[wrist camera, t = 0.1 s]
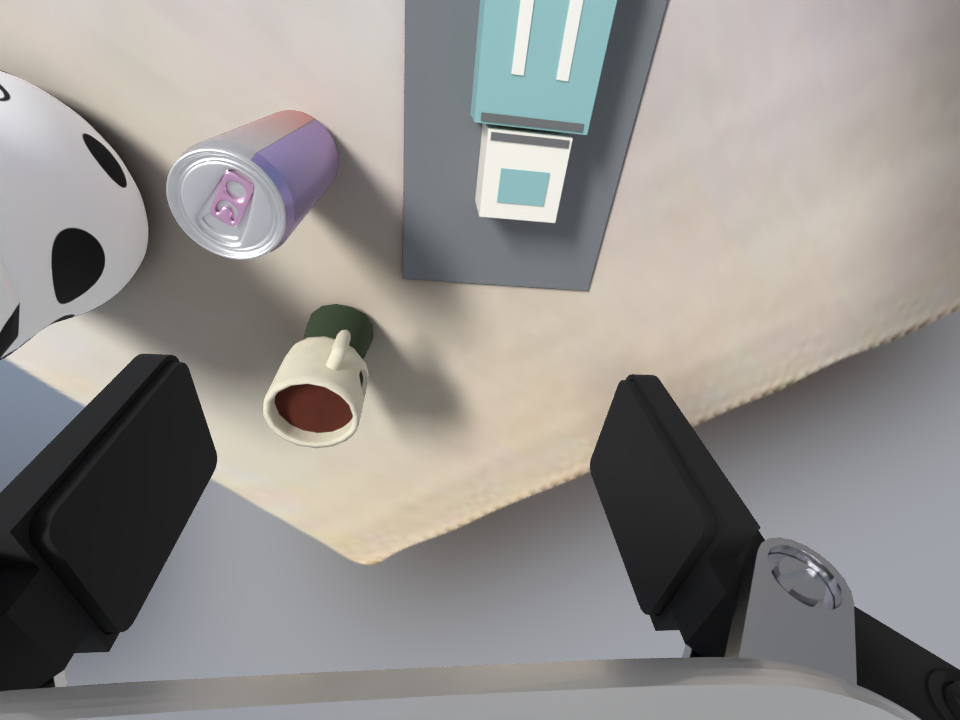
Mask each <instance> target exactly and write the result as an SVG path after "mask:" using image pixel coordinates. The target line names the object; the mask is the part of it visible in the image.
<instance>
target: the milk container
mask: <svg viewBox="0 0 960 720" xmlns="http://www.w3.org/2000/svg"><path fill="white" fill-rule="evenodd" d="M147 244H148V220H147V215H146V211H145V206H144V202H143V199H142V196H141V192H140V190H139V188H138V186H137V184H136V182H135V181H134V179H133V177H132V175H131V174H130V172H129V170H128V169H127V167H126V165H125V164H124V162H123V161H122V159H121V158H120V156H119V155H118V153H117V152H116V151H115V150H114V149H113V148H112V146H111V145H110V144H109V143H108V142H107V141H106V140H105V139H104V138H103V137H102V136H101V135H100V134H99V133H98V132H97V131H96V130H95V129H94V128H93V127H92V126H91V125H90V124H89V123H88V122H87V121H86V120H85V119H84V118H83V117H82V116H80V115H79V114H78V113H76V112H75V111H74V110H72V109H71V108H69V107H68V106H66V105H65V104H63V103H62V102H60V101H59V100H57V99H56V98H55V97H53V96H51V95H50V94H48V93H47V92H45V91H43V90H42V89H40V88H38V87H36V86H34V85H33V84H31V83H29V82H27V81H25V80H23V79H21V78H18V77H16V76H14V75H12V74H9V73H7V72H4V71H1V70H0V360H1V359H3V358H5V357H7V356H8V355H10V354H11V353H13V352H14V351H15V350H17V349H18V348H19V347H21V346H22V345H23V344H25V343H26V342H27V341H28V340H30V339H31V338H32V337H33V336H35V335H36V334H37V333H39V332H40V331H41V330H43V329H44V328H46V327H47V326H49V325H51V324H53V323H56V322H59V321H62V320H65V319H69V318H72V317H75V316H78V315H80V314H83V313H86V312H88V311H90V310H93V309H95V308H96V307H98V306H100V305H102V304H103V303H105V302H107V301H108V300H109V299H111V298H112V297H113V296H115V295H116V294H117V293H118V292H119V291H120V290H121V289H122V288H123V287H124V286H125V285H126V284H127V283H128V282H129V281H130V279H131V278H132V277H133V275H134V274H135V273H136V271H137V269H138V268H139V266H140V264H141V263H142V261H143V258H144V256H145V253H146V249H147Z"/></svg>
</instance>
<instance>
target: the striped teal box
mask: <svg viewBox="0 0 960 720" xmlns="http://www.w3.org/2000/svg"><path fill="white" fill-rule="evenodd" d="M616 3H617V0H480V7H479V19H478V31H477V42H476V54H475V66H474V78H473V90H472V102H471V113H470V115H471V117H472V118H473V120H474V122H476V123H485V124H494V125H503V126H512V127H520V128H529V129H538V130H547V131H556V132H565V133H574V134H582V135H587V133H588V128H589V124H590V119H591V115H592V110H593V106H594V102H595V97H596V93H597V88H598V84H599V79H600V75H601V70H602V66H603V61H604V57H605V52H606V48H607V43H608V39H609V34H610V30H611V25H612V21H613V16H614V12H615V7H616Z"/></svg>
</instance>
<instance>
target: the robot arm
mask: <svg viewBox="0 0 960 720" xmlns="http://www.w3.org/2000/svg"><path fill="white" fill-rule="evenodd" d="M216 464H217V453H216V450H215V447H214V444H213V441H212V438H211V435H210V432H209V429H208V426H207V423H206V419H205V416H204V413H203V410H202V407H201V404H200V401H199V398H198V395H197V392H196V389H195V386H194V383H193V380H192V377H191V374H190V371H189V368H188V366H187V365H186V364H185V363H183V362H180V361H179V359H178V358H177V357H176V356H173V355H161V354H139V355H138V356H136V357H135V358H134V359H133V360H132V361H131V362H130V363H129V364H128V365H127V366H126V367H125V368H124V369H123V370H122V371H121V372H120V373H119V374H118V375H117V376H116V377H115V378H114V379H113V380H112V381H111V382H110V383H109V384H108V385H107V386H106V387H105V388H104V389H103V390H102V391H101V392H100V393H99V394H98V395H97V396H96V397H95V398H94V399H93V400H92V401H91V402H90V403H89V404H88V405H87V406H86V407H85V408H84V409H83V410H82V411H81V412H80V413H79V414H78V415H77V416H76V417H75V418H74V419H73V420H72V421H71V422H70V423H69V424H68V425H67V426H66V427H65V428H64V429H63V430H62V432H60V433H59V434H58V435H57V436H56V437H55V439H53V441H51V443H50V444H48V445H47V446H46V448H44V449H43V451H41V452H40V453H39V455H38V456H36V458H34V460H33V461H32V462H31V463H30V464H29V465H28V466H27V467H26V468H25V469H24V470H23V471H22V472H21V473H20V474H19V475H18V476H17V477H16V478H15V479H14V480H13V481H12V482H11V483H10V484H9V485H8V486H7V487H6V488H5V489H4V490H3V491H2V492H1V493H0V720H960V670H959V669H957V668H956V667H954V666H952V665H951V664H949V663H947V662H945V661H944V660H942V659H941V658H939V657H937V656H936V655H934V654H932V653H931V652H929V651H928V650H926V649H924V648H922V647H921V646H919V645H918V644H916V643H914V642H913V641H911V640H909V639H908V638H906V637H904V636H903V635H901V634H899V633H898V632H896V631H894V630H893V629H891V628H889V627H888V626H886V625H884V624H883V623H881V622H879V621H878V620H876V619H875V618H873V617H871V616H870V615H868V614H866V613H864V612H863V611H861V610H859V609H858V608H856V607H855V606H854V601H853V597H852V593H851V590H850V588H849V587H848V585H847V583H846V581H845V579H844V578H843V577H842V576H841V574H840V573H839V572H838V571H837V570H836V568H835V567H834V566H833V565H832V564H831V563H830V562H828V561H827V560H826V559H825V558H824V557H822V556H821V555H820V554H819V553H817V552H815V551H814V550H812V549H810V548H809V547H807V546H805V545H803V544H801V543H798V542H796V541H794V540H790V539H784V538H780V537H779V538H769V539H767V540H766V541H765V540H764V538H763V537H762V535H761V534H760V532H759V531H758V530H759V529H760V526H759V525H758V523H757V522H756V520H755V519H754V517H753V516H752V514H751V513H750V511H749V510H748V509H747V507H746V506H745V504H744V503H743V501H742V500H741V498H740V497H739V495H738V494H737V492H736V491H735V489H734V488H733V487H732V485H731V484H730V482H729V481H728V479H727V478H726V477H725V475H724V473H723V472H722V471H721V469H720V468H719V466H718V465H717V463H716V462H715V460H714V459H713V457H712V456H711V454H710V453H709V451H708V450H707V449H706V447H705V446H704V444H703V443H702V441H701V440H700V438H699V437H698V435H697V434H696V432H695V431H694V430H693V428H692V427H691V425H690V424H689V422H688V421H687V419H686V418H685V416H684V415H683V413H682V412H681V411H680V409H679V408H678V406H677V405H676V403H675V402H674V400H673V399H672V397H671V396H670V394H669V393H668V391H667V390H666V389H665V387H664V386H663V384H662V383H661V381H660V380H659V379H658V378H657V376H654V375H634V374H632V375H629V376H628V377H627V378H626V380H622V381H620V382H619V384H618V387H617V389H616V392H615V395H614V398H613V400H612V403H611V406H610V409H609V411H608V414H607V417H606V419H605V422H604V425H603V428H602V430H601V433H600V436H599V439H598V441H597V444H596V447H595V450H594V452H593V455H592V458H591V461H590V470H591V475H592V478H593V481H594V483H595V486H596V489H597V491H598V494H599V496H600V500H601V502H602V505H603V507H604V510H605V513H606V516H607V519H608V521H609V524H610V527H611V529H612V532H613V535H614V537H615V540H616V543H617V546H618V548H619V551H620V554H621V557H622V559H623V562H624V565H625V568H626V570H627V573H628V576H629V578H630V581H631V584H632V587H633V589H634V592H635V595H636V597H637V600H638V603H639V605H640V608H641V610H642V611H643V612H644V613H645V614H648V615H650V617H651V620H652V623H653V625H654V628H655V630H656V631H660V630H661V631H663V630H680V632H681V635H682V637H683V640H684V642H685V644H686V645H685V648H684V652H683V656H682V658H650V659H616V660H591V661H566V662H544V663H519V664H494V665H473V666H450V667H429V668H407V669H385V670H365V671H343V672H322V673H300V674H281V675H262V676H242V677H222V678H203V679H185V680H164V681H145V682H126V683H112V684H97V685H83V686H69V687H68V686H67V681H66V677H65V672H64V669H65V667H66V666H67V664H68V662H69V661H70V659H71V658H72V656H73V654H74V653H89V652H109V651H110V649H111V647H112V645H113V644H114V642H115V640H116V638H117V636H118V635H119V633H120V632H124V631H126V630H127V629H128V628H129V627H130V626H131V625H132V624H133V622H134V620H135V618H136V617H137V615H138V613H139V611H140V609H141V607H142V606H143V604H144V602H145V600H146V598H147V596H148V594H149V592H150V591H151V589H152V587H153V585H154V583H155V581H156V579H157V577H158V575H159V574H160V572H161V570H162V568H163V566H164V564H165V562H166V561H167V559H168V557H169V555H170V553H171V551H172V549H173V547H174V546H175V544H176V542H177V540H178V538H179V536H180V534H181V532H182V531H183V529H184V527H185V525H186V523H187V521H188V519H189V517H190V516H191V514H192V512H193V510H194V508H195V506H196V504H197V502H198V501H199V499H200V497H201V495H202V493H203V491H204V489H205V487H206V486H207V484H208V482H209V480H210V478H211V476H212V474H213V472H214V470H215V468H216Z"/></svg>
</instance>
